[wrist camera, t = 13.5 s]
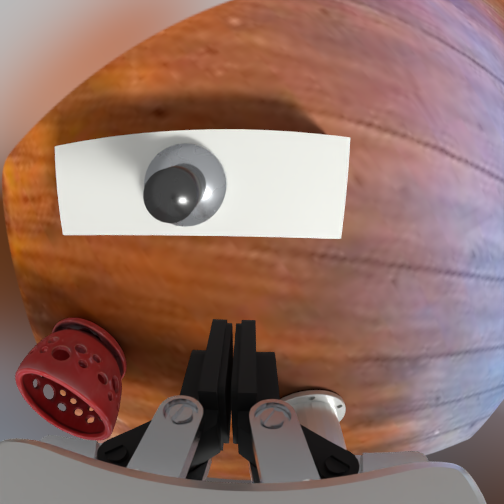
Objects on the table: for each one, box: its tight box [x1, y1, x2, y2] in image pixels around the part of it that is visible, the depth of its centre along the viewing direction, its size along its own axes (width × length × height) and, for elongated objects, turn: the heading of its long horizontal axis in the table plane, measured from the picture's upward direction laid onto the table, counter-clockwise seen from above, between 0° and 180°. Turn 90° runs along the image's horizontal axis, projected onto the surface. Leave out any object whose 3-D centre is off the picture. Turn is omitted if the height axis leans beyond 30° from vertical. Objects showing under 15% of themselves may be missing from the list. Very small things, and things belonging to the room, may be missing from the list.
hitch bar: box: [55, 129, 350, 239], centre depth 23 cm, size 8×24×5 cm, turn 88°
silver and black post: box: [143, 143, 227, 227], centre depth 20 cm, size 6×6×10 cm
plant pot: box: [15, 318, 127, 440], centre depth 27 cm, size 13×13×12 cm
